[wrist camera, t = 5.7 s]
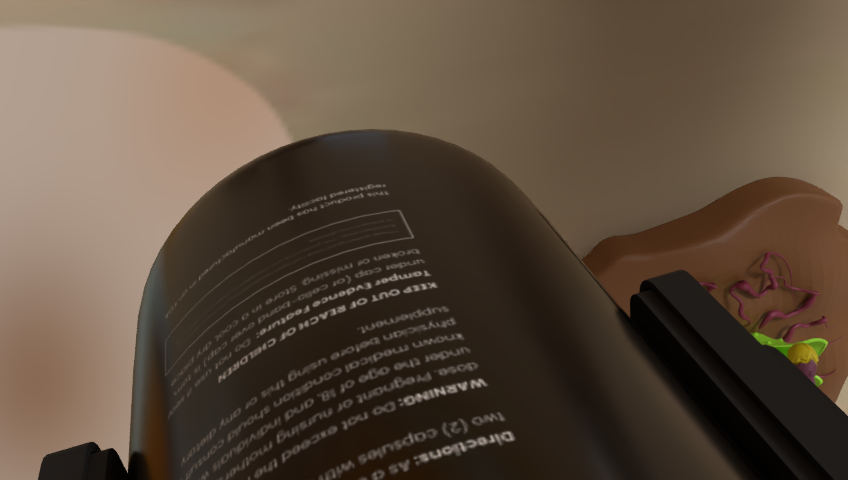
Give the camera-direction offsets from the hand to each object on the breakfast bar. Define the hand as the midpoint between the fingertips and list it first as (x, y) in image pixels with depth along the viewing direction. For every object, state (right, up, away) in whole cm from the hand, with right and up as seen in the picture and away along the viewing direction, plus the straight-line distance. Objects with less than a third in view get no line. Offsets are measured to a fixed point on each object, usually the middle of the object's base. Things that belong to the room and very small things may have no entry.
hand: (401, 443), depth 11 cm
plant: (+15, -3, +35) cm, 38 cm away
